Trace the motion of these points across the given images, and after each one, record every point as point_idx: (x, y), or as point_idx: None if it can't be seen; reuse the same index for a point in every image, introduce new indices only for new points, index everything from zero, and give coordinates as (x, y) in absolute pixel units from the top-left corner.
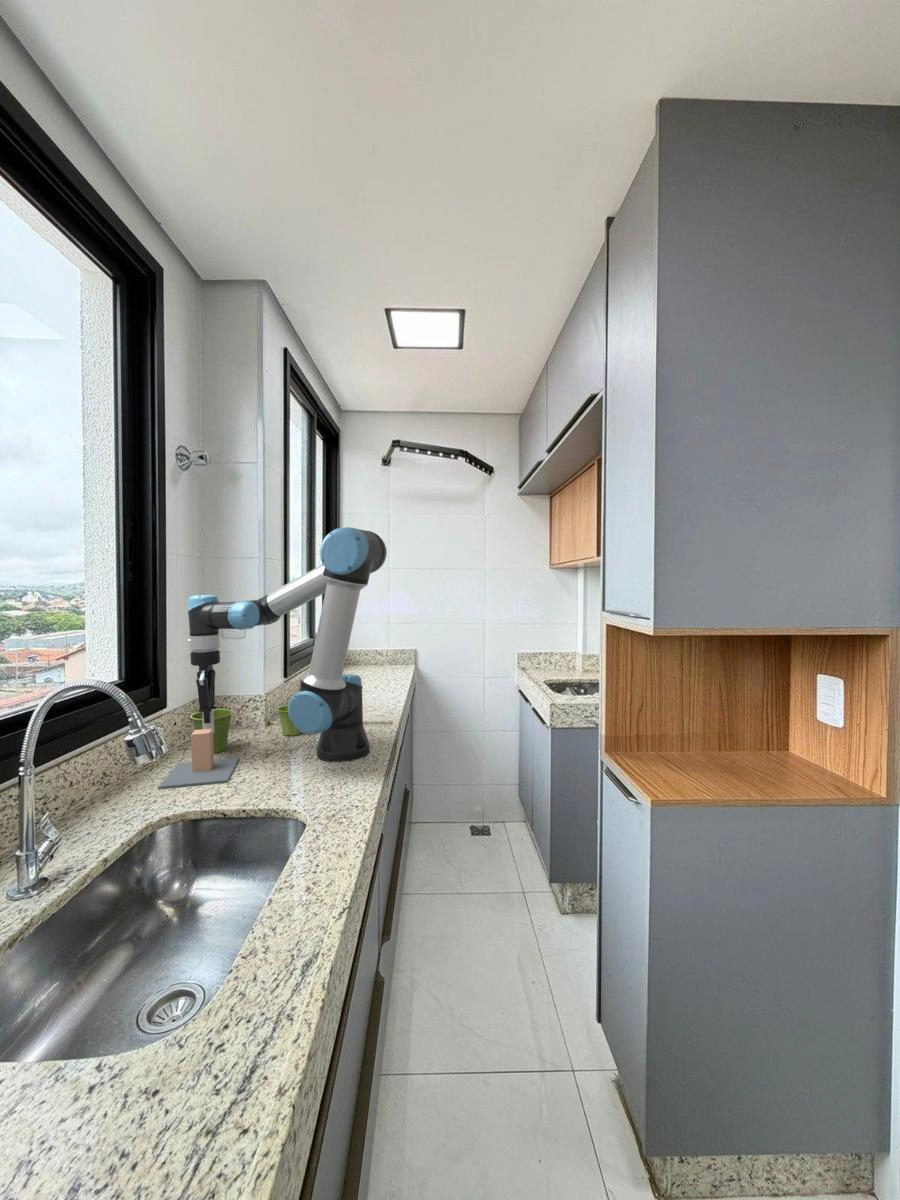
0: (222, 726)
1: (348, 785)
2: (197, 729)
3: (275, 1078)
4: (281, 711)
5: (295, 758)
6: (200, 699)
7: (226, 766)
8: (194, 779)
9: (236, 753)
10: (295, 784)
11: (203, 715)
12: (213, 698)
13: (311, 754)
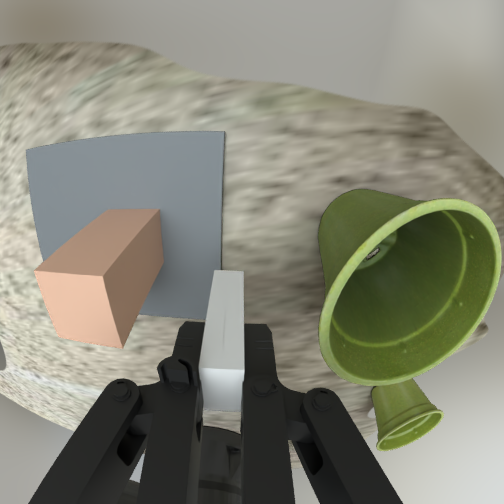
0: (339, 327)
1: (75, 420)
2: (365, 218)
3: None
4: (397, 427)
5: None
6: (65, 460)
7: None
8: (56, 230)
9: (291, 302)
10: (67, 385)
11: (201, 351)
12: (304, 468)
13: (215, 421)
